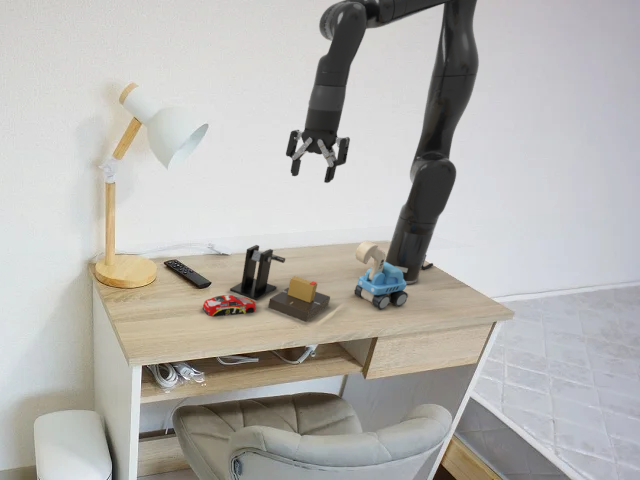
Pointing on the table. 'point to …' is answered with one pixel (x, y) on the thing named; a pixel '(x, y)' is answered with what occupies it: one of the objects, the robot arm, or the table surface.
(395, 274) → the toy excavator
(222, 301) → the race car
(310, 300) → the lock knob
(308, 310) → the lock plate
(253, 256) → the grey lever handle
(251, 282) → the lever bracket
